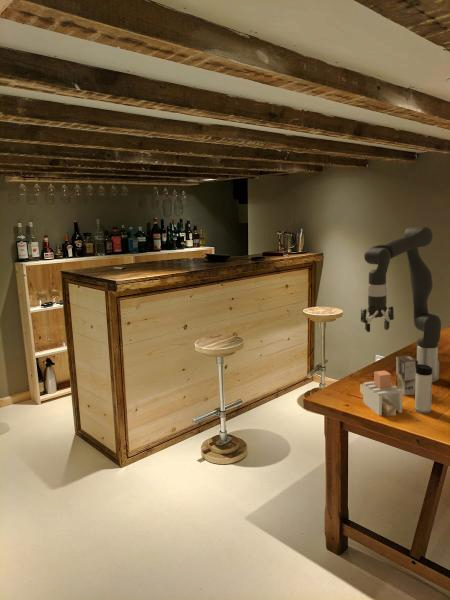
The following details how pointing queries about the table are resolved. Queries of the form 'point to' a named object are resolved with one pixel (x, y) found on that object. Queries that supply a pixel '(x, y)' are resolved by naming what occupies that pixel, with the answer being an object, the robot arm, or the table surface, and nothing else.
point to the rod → (384, 405)
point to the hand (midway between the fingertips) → (377, 330)
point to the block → (382, 379)
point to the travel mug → (423, 388)
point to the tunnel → (374, 397)
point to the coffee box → (406, 374)
